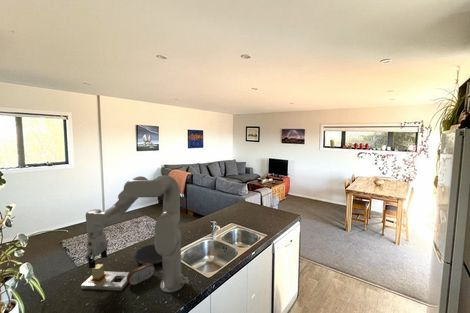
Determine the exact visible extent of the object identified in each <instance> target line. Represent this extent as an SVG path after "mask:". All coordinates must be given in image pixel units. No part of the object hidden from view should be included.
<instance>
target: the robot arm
mask: <svg viewBox="0 0 470 313" xmlns="http://www.w3.org/2000/svg"><path fill="white" fill-rule="evenodd" d="M162 195H163V199H162V212H161V215H160V216H158V218H157V219H156V221H155V224H154V244H155V249H156V251H157V253H158V254H159V255H161V256H162V262H161V263H162V280H161V281H160V284H159V286H160V289H161V291H162V292H164V293H175V292H177V291H179V290H181V289H182V288H183V286H184V285H185V284H186V285H189V283H190V279H189V278H188V276H184V274H183V273H182V254H181V253H182V233H181V230H180V229H179V228H178V224H179V222H180V220H181V188H180V185H179V183H178V181H177V180H176V179H175V178H174V177H172V176H170V175H166V174H163V175H159V176H157V177H156V178H153V179H148V178H147V177H145V176H136V177H134V178H131V179H129V180H128V181H126V182H125V183H124V186H123V190H121V192H119V193H118V196H117V199H118V200H117V201H116V202H115V203H114V204H113V205H112V206H111V207H109V208H107V209H106V210H104V211H103V210H101V209H98V208H96V209H95V208H94V209H90V210H88V211H87V212H85V223H86V232H87V233H86V234H87V242H86V246H87V247H86V248H87V249H86V250H87V253H86V254H85V255H84V259H85V261H86V262H88V268H89V269H92V268H95V267H96V266H95V265H96V260H95V258H96V257H98V256H99V255H100V258H101V259H103V258H104V259H107V258H108V253H107V252H108V251H107V250H108V247H109V245H108V244H109V240H107V235H106V231H105V228H104V227H108V226H109V225H111V224H112V223H114V222H116V221H117V220H118V219H120V218H121V217H122V216H123V215H124V214H126V212H127V211H129V209H130V208H131V207H132V206H133V204H134V203H135V202H136V201H137V200H138V199H139V198H157V197H160V196H162Z"/></svg>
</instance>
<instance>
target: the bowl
mask: <svg viewBox="0 0 470 313" xmlns="http://www.w3.org/2000/svg"><path fill="white" fill-rule="evenodd" d="M133 258H134V261H136V262H137V263H138V264H141V266H142V265H145V264H147V263H152V264H153V266H154V265H156V264H160V263H163V262H162V256H161V255H159V254H158V253H157V251H156V249H155V243H154V244H147V245H145V246H141V247H140V248H138V249H137V250H136V252H135V254H134V257H133Z"/></svg>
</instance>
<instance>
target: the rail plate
mask: <svg viewBox="0 0 470 313" xmlns="http://www.w3.org/2000/svg"><path fill="white" fill-rule="evenodd" d="M129 272H130V271H128V272H127V271H110V270H109V271H106V270H104V275H105V277H104V278H103V279H102V280H101V281H93V278H92V275H90V277H88V278H87V279H86V280H85V281H84V282H83V283H82V284H80V288H81V290H82V289H83V290H105V291H123V290H124V288H125V287H126V285H127V284H129V283H128V282H127V275H128V274H129ZM116 280H121V281H120V282H116Z"/></svg>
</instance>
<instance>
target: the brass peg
mask: <svg viewBox="0 0 470 313" xmlns="http://www.w3.org/2000/svg"><path fill="white" fill-rule="evenodd" d="M95 266H96V267H95V268H91V276H92V278H93V281H101V280H102V279H103V278H104V277H105V275H104V271H105V266H104V263H101V264H100V263H97V264H96V263H95Z"/></svg>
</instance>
